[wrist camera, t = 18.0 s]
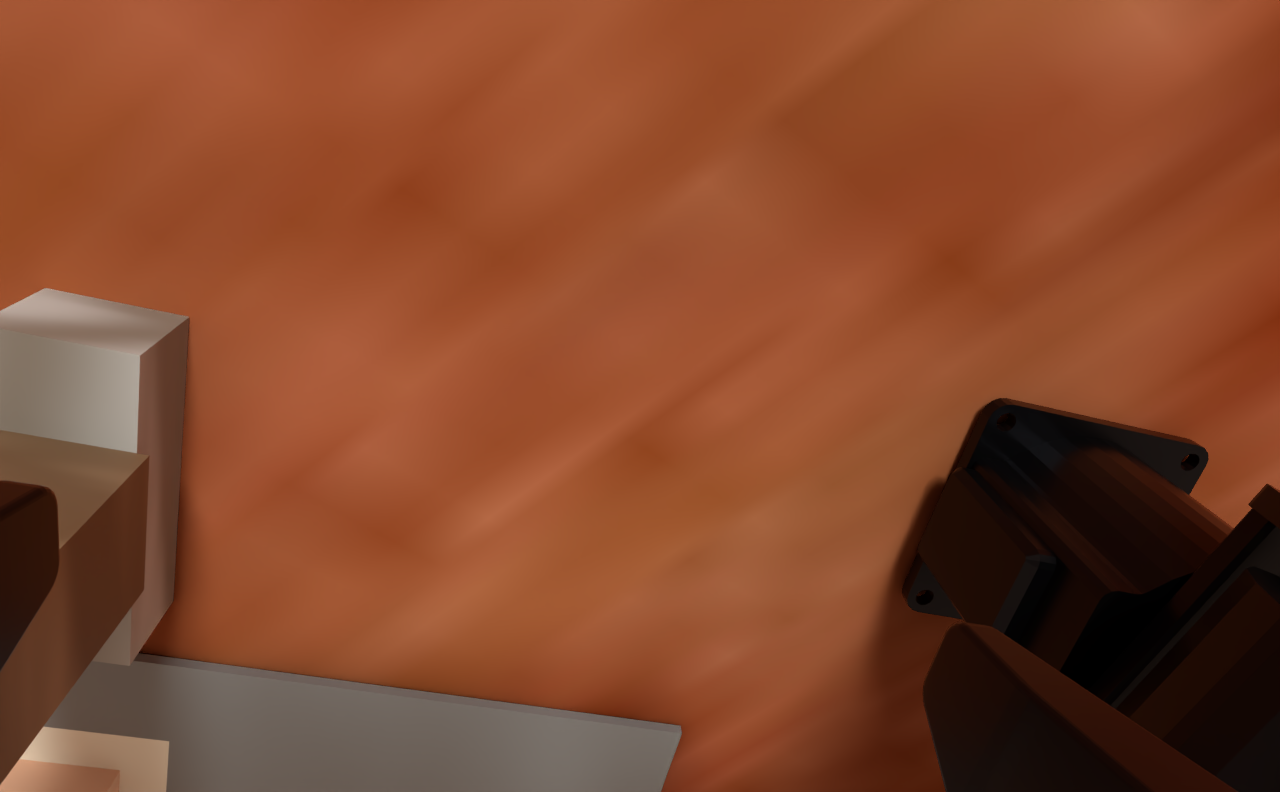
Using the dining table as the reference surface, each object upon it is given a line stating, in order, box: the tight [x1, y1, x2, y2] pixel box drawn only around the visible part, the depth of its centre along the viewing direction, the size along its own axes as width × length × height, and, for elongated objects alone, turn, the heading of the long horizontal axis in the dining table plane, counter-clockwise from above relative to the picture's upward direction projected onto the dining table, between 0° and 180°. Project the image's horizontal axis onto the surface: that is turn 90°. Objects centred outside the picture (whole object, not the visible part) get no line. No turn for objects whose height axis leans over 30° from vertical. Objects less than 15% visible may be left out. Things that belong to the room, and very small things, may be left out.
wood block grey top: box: [0, 288, 189, 785], centre depth 16 cm, size 4×8×9 cm, turn 166°
